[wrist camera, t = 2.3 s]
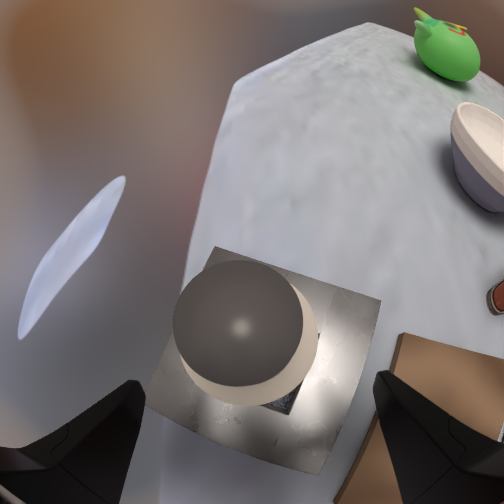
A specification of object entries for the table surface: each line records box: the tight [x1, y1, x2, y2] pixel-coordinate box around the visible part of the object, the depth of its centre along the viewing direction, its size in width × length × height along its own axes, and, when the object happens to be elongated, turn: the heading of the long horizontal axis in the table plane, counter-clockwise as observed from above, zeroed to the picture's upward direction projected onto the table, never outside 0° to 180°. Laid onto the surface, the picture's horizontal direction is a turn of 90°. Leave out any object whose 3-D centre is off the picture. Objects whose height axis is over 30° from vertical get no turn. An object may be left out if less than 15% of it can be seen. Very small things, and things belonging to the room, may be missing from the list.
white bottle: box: [173, 260, 318, 406], centre depth 12 cm, size 4×4×14 cm
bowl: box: [450, 102, 504, 213], centre depth 20 cm, size 14×14×8 cm
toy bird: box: [414, 8, 480, 81], centre depth 32 cm, size 18×17×15 cm
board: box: [333, 332, 504, 504], centre depth 13 cm, size 14×14×1 cm
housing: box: [145, 246, 381, 475], centre depth 17 cm, size 12×12×3 cm
